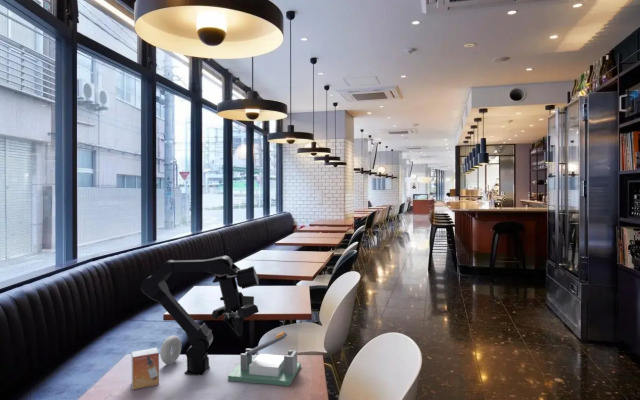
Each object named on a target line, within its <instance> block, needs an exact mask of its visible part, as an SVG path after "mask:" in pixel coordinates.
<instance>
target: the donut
mask: <svg viewBox="0 0 640 400" xmlns="http://www.w3.org/2000/svg"><path fill="white" fill-rule="evenodd" d="M181 351H182V341H181V339H180V338H179V336H177V335H169V336H168V337H166V339H165V340H164V341H163V343H162V345H161V348H160V353H159V357H160V360H161V362H163V363H164V364H165V365H173V364H174V363H175V362H176V361H177V360H178V359H179V357H180V355H181Z"/></svg>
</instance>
